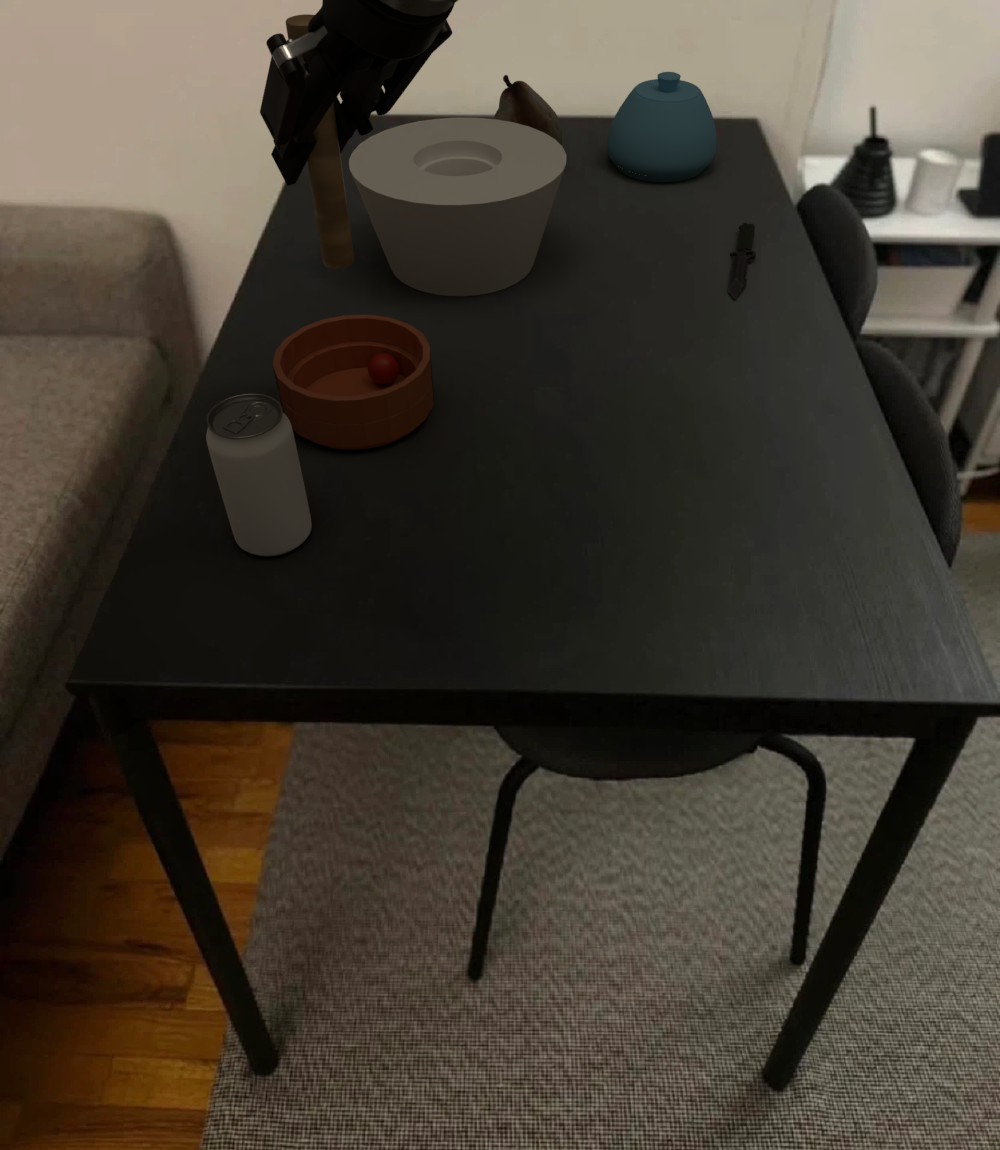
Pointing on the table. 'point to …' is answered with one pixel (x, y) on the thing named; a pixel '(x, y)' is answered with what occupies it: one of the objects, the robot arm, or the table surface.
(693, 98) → the sugar bowl
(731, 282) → the knife
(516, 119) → the fruit
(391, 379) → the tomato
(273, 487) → the can
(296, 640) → the table surface
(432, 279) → the grey tapered cylinder
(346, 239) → the stick
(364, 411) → the stir bowl
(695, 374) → the table surface
